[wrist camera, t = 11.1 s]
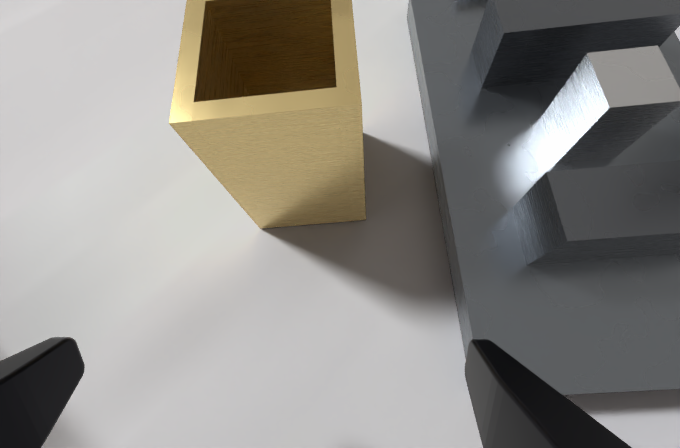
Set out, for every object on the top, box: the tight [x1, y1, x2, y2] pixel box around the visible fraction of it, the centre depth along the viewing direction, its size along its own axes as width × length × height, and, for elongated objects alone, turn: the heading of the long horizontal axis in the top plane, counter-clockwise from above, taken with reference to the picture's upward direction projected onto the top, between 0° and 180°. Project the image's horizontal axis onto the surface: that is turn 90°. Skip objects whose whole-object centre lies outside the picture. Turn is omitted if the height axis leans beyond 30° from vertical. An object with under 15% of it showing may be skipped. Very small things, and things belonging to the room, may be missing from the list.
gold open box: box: [169, 0, 366, 229], centre depth 13 cm, size 7×5×10 cm
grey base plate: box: [407, 0, 680, 395], centre depth 14 cm, size 20×12×5 cm, turn 3°
